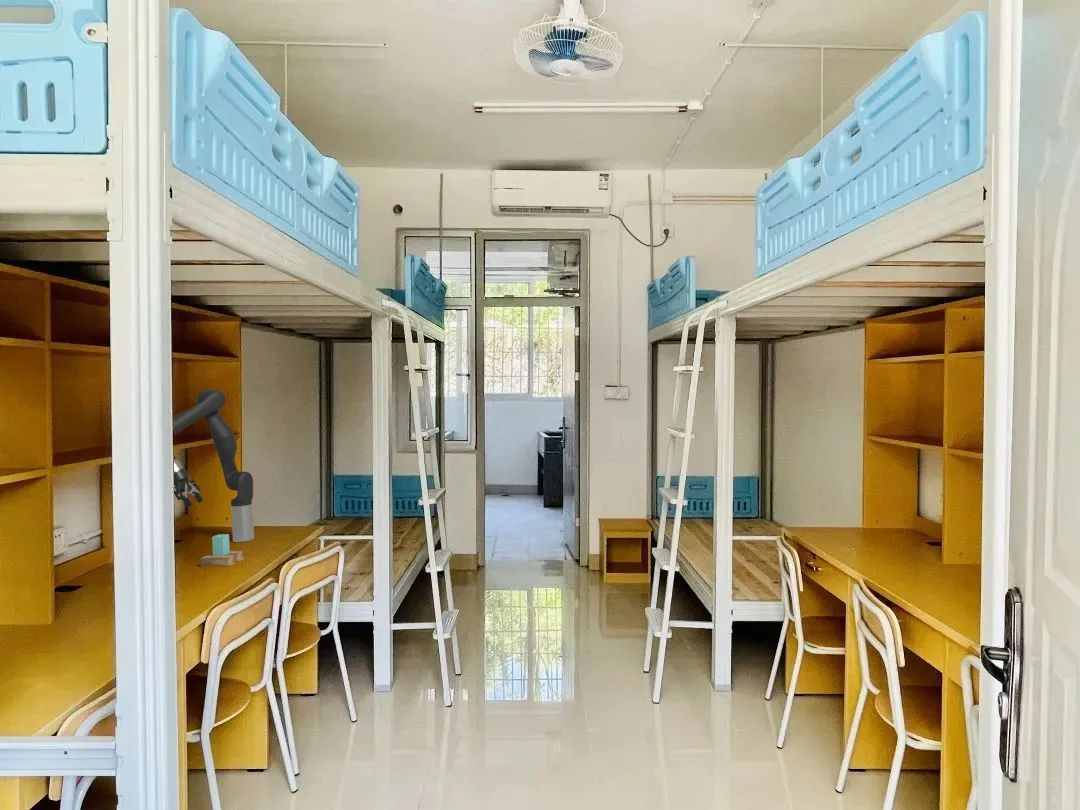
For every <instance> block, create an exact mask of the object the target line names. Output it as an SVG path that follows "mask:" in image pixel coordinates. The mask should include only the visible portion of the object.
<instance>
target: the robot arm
mask: <svg viewBox="0 0 1080 810" xmlns="http://www.w3.org/2000/svg"><path fill="white" fill-rule="evenodd" d="M226 400H227V398H226V395H225V394H224V392H223V391H220V390H217V389H203V390H201V391H200V392H199V393H198V394H197V400H196V401H197V404H196V405H194V406H193V407H190V408H188V409H185V410H183V411H181V412H179V413H177V414H175V415H173V416H172V417H173V431H174V436H176V435H178V434H179V433H180V432H181V431H183V430H184V429H186V428H188V427H190V425H192V424H194V423H195V422H196V421H197V422H198V421H199V420H201V419H202V418H203V417H204V419H205V421H206V424H207V427H208V430H209V433H210V434H211V439H212V442H213V444H214V447H215V451H216V452H217V455H218V458H219V462H220V465H221V468H222V474H223V476H224V477H223V478H224V482H225V485H226V487H227V488H228V489H229V490H231V491H236V492H237V494H236V496H235V497H234V498H232V499H231V500H230V512H231V513H230V514H231V533H232V542H234V543H244V542H249V541H252V540H255V539H254V538H255V530H254V529H255V527H254V518H253V503H252V502H253V499H254V480H253V479H254V478H253V476H252V474H251V473H250V472H249V471H239V469H238V467H237V465H236V454H237V449H238V443H237V440H236V438H235V435H234V432H233V430H232V429H231V427H230V425H229V424H228V423H227V422H226V421H225V420H224V418H223V417H222V415H221V413H220V409H222V408H223V407H224V406H225V404H226ZM189 478H190V475H189V474H188V472H187V471H186V469H185V468H184V467H183V465H182V463H181V462H180V461H179V460H178V459H177V457H176V456H175V455H174V486H173V487H174V493H173V494H174V496H175V498H176V499H177V501H182V502H183V503H184V505H185V506H186V507H187V508H190V507H192V506H193V503H192V502H191V500H190V499H189V497H188V494H191V495H192V496H193V497H194V498H195V500H196V502H197V503H198V504H200V503H202V502H203V501H204V499H203V497H202V496H201V494H200V492H201V491H202V490H201V488H200V486H199V485H198V484H197V482H196V481H195V480H194V479H191V480H189Z"/></svg>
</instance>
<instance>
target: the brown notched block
mask: <svg viewBox="0 0 1080 810" xmlns="http://www.w3.org/2000/svg"><path fill="white" fill-rule="evenodd" d="M244 559H245V552H244V550H230V553H229V554H227V555H224V556H213V552H212V553H209V554H207V555H205V556H203V557H200V567H201V566H218V567H219V568H223V567H224V568H225V567H230V566H232V565H234V564H237V563H238V562H241V561H242V560H244Z"/></svg>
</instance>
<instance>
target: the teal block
mask: <svg viewBox="0 0 1080 810" xmlns="http://www.w3.org/2000/svg"><path fill="white" fill-rule="evenodd" d="M211 542H212V553H213V556H224V555H227V554H229V553H230V551H231V550H230V548H231V547H230V534H229V533H228V534H227V533H226V534H225V533H224V534H223V533H222V534H220V533H219V534H215V535H213V536H212V537H211Z"/></svg>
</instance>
